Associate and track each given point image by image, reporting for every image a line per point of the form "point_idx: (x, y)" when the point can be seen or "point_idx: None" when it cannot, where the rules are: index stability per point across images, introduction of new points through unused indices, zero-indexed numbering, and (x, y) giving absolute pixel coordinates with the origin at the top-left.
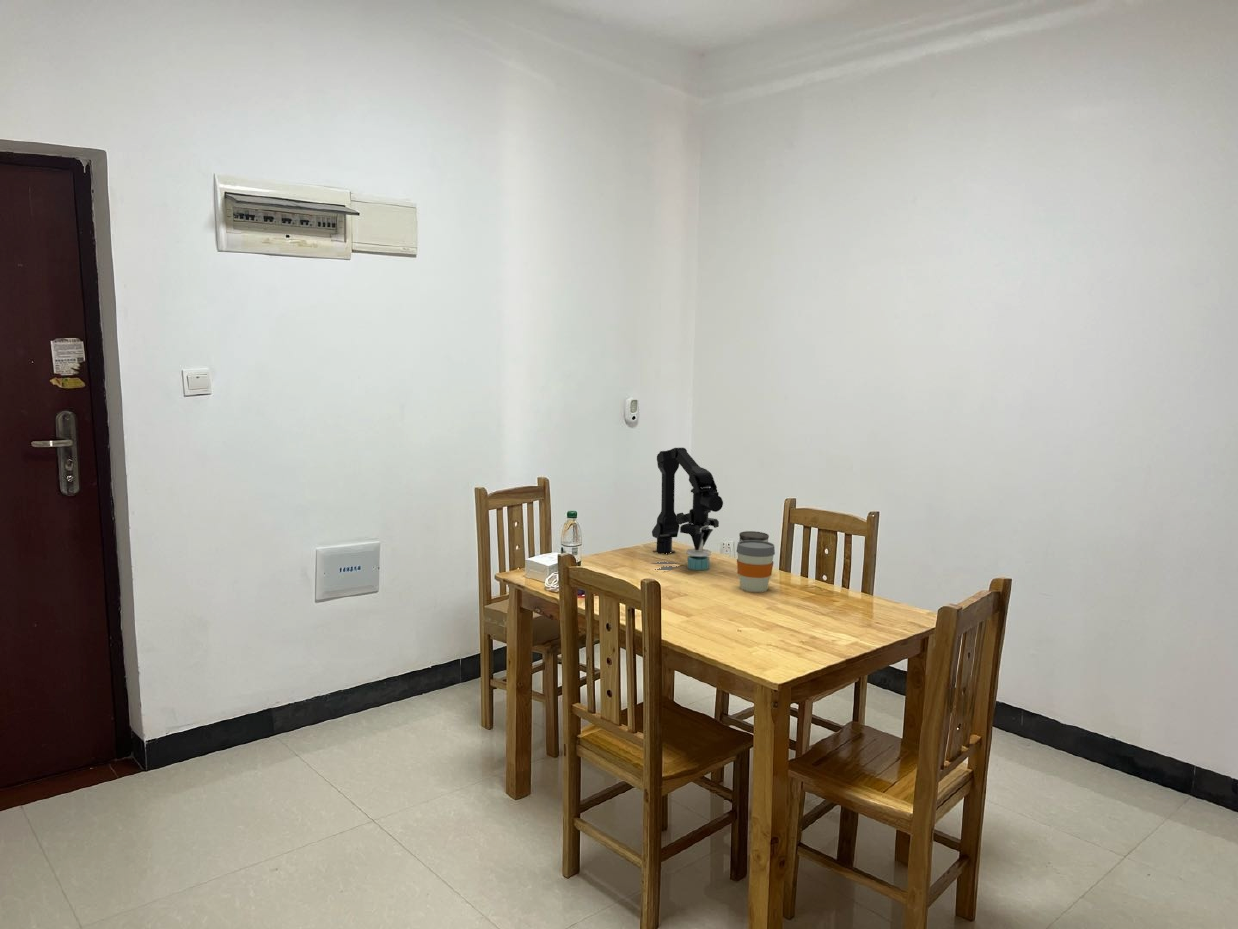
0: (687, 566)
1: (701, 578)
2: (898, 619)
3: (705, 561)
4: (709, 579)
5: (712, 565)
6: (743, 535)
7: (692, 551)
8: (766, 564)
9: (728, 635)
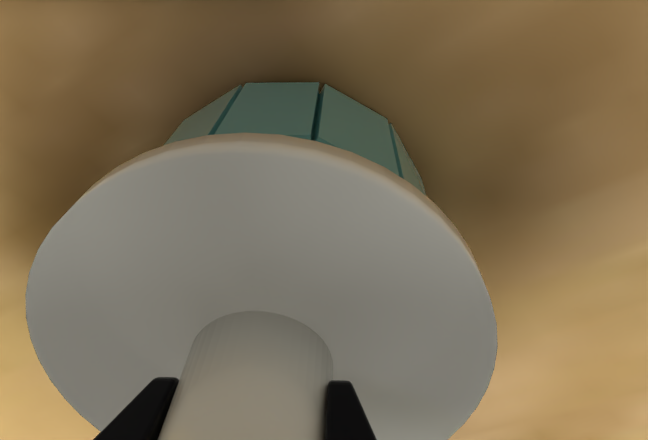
0: (212, 102)
1: (25, 361)
2: None
3: None
4: (62, 406)
5: (527, 253)
6: None
7: (162, 297)
8: None
9: None
